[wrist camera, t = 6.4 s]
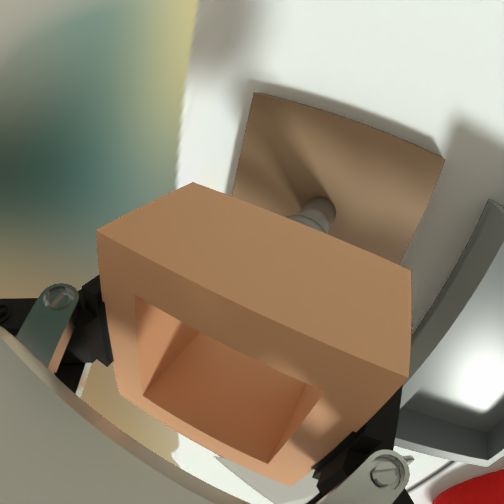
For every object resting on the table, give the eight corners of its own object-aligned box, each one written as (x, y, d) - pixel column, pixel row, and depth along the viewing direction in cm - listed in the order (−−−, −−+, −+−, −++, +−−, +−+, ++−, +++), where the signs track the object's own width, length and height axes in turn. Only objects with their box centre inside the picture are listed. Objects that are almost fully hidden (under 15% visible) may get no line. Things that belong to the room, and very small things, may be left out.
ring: (193, 182, 10) (95, 230, 7) (410, 270, 8) (408, 377, 5) (176, 333, 14) (119, 393, 10) (323, 405, 12) (290, 486, 9)
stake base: (260, 92, 19) (206, 92, 13) (442, 157, 16) (468, 182, 10) (226, 248, 25) (178, 293, 20) (371, 309, 22) (359, 374, 17)
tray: (488, 198, 15) (511, 224, 12) (611, 285, 12) (633, 316, 8) (365, 395, 26) (357, 433, 22) (486, 432, 22) (487, 467, 19)
